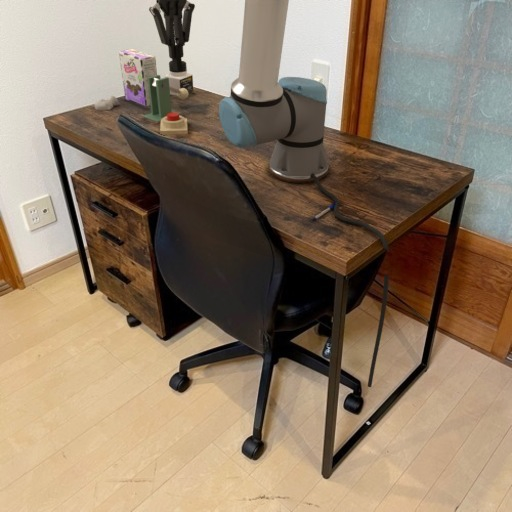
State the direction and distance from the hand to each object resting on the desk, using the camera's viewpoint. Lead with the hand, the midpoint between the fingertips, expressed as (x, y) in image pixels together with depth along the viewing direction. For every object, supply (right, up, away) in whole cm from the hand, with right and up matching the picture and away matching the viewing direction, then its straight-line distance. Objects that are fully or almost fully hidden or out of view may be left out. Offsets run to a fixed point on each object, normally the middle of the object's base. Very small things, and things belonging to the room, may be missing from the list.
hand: (177, 69), depth 149 cm
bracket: (-8, -8, +21) cm, 24 cm away
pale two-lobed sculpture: (-27, -4, +27) cm, 39 cm away
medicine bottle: (-5, +5, +41) cm, 42 cm away
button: (-3, -12, +9) cm, 15 cm away
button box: (-3, -15, +11) cm, 19 cm away
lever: (-5, -1, +20) cm, 21 cm away
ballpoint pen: (+38, -43, -29) cm, 64 cm away
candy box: (-17, 0, +34) cm, 38 cm away
